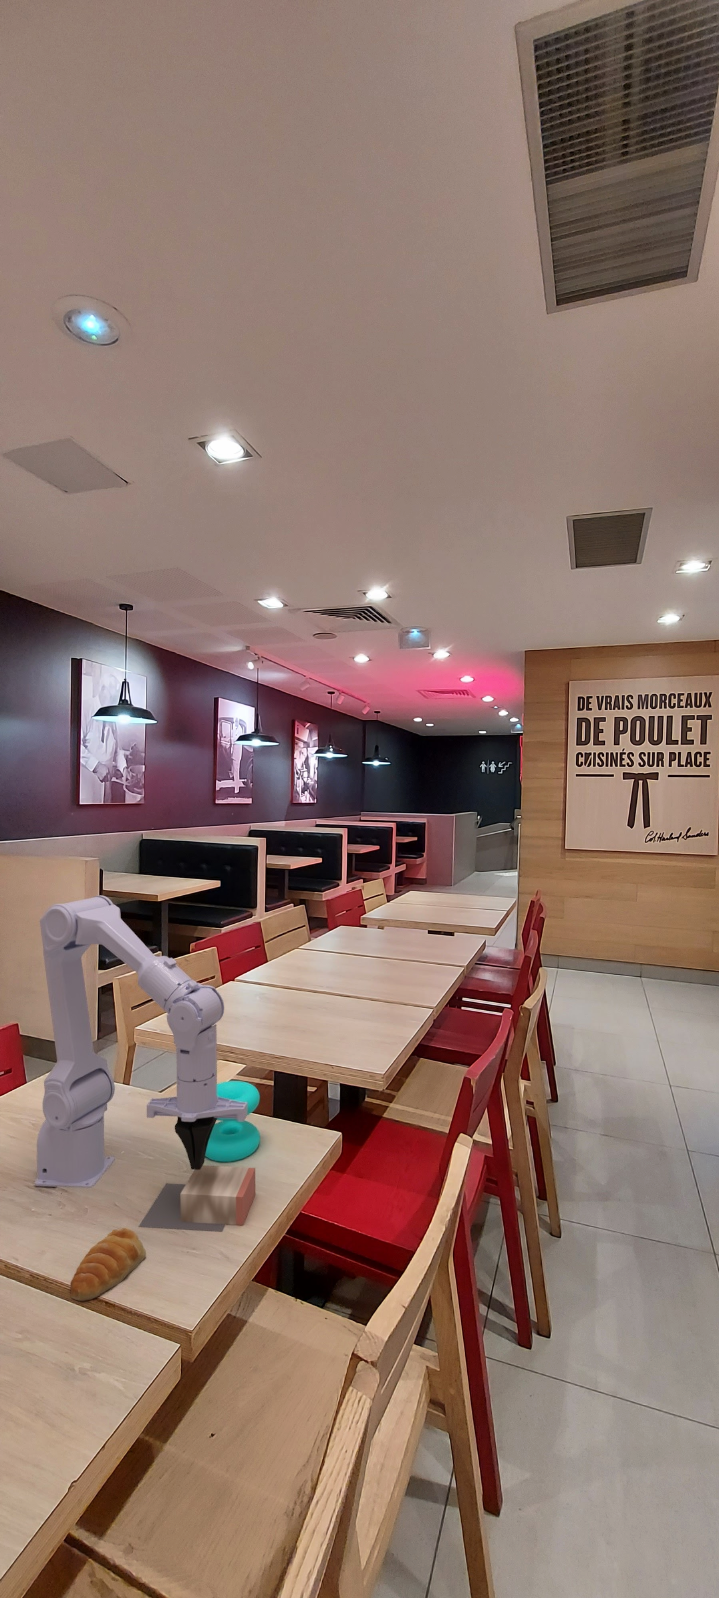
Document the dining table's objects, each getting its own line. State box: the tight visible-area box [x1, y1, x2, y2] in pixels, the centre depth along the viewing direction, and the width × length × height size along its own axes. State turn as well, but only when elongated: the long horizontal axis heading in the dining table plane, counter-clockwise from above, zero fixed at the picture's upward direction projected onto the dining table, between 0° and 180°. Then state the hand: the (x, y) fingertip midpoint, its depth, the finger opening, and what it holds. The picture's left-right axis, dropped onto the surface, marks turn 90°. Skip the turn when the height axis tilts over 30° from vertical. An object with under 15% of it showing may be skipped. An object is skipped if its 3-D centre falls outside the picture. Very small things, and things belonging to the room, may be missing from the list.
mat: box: [138, 1182, 226, 1233], centre depth 95 cm, size 12×10×1 cm
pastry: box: [70, 1227, 147, 1302], centre depth 82 cm, size 9×7×4 cm
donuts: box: [205, 1080, 261, 1163], centre depth 111 cm, size 10×10×10 cm
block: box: [180, 1164, 256, 1226], centre depth 95 cm, size 4×7×9 cm
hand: (197, 1165), depth 95 cm, fingers closed
